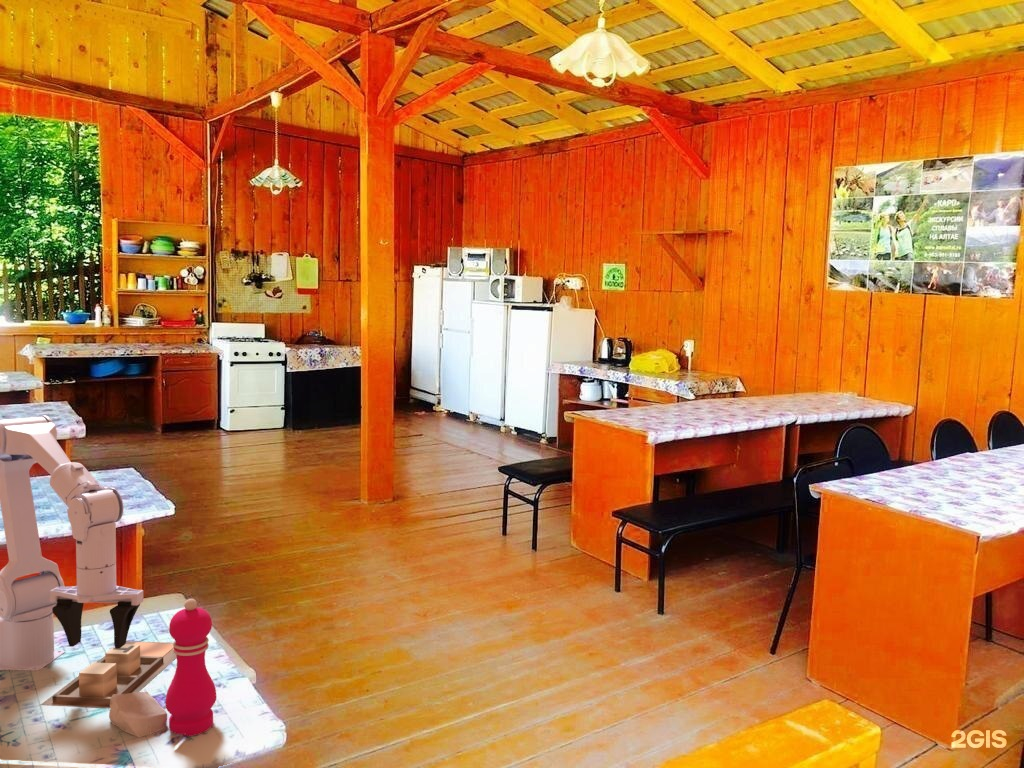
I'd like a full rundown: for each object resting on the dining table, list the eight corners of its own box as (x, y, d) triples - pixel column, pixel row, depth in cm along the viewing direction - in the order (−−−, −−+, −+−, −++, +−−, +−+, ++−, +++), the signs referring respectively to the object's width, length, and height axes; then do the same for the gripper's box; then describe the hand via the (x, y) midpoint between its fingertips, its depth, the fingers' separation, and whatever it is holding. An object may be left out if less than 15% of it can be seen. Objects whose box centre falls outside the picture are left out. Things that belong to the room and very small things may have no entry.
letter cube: (105, 675, 133) (105, 652, 133) (118, 665, 137) (118, 643, 137) (128, 676, 133) (128, 653, 133) (140, 666, 137) (140, 644, 137)
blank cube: (79, 696, 126) (78, 673, 125) (93, 685, 130) (93, 662, 129) (103, 697, 125) (103, 674, 125) (116, 686, 129) (116, 663, 129)
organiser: (40, 707, 123) (40, 698, 123) (124, 643, 148) (124, 635, 148) (120, 711, 122) (120, 702, 122) (191, 646, 147) (191, 638, 147)
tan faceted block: (159, 754, 117) (174, 721, 117) (116, 758, 113) (131, 724, 112) (141, 710, 124) (155, 679, 124) (100, 712, 120) (114, 680, 119)
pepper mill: (167, 743, 114) (166, 610, 112) (164, 720, 120) (162, 594, 118) (219, 732, 117) (218, 603, 115) (213, 710, 123) (213, 588, 122)
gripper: (37, 570, 122) (38, 653, 123) (126, 573, 122) (128, 657, 123) (64, 556, 129) (65, 635, 130) (149, 560, 129) (150, 639, 130)
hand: (97, 645), depth 127 cm, fingers open, 7 cm apart
